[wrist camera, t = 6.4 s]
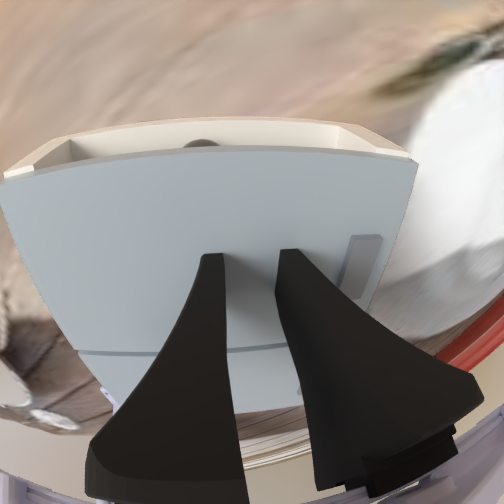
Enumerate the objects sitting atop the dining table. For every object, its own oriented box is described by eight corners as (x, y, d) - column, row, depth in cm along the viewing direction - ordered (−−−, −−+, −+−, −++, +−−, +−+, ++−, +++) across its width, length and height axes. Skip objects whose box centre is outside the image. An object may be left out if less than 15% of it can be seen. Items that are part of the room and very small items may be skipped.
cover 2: (315, 394, 19) (318, 404, 18) (129, 408, 17) (128, 418, 16) (350, 327, 14) (356, 340, 13) (80, 344, 12) (76, 359, 11)
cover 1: (352, 321, 13) (358, 335, 13) (77, 340, 11) (73, 354, 11) (408, 157, 8) (424, 167, 8) (4, 178, 6) (-11, 190, 6)
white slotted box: (302, 354, 22) (314, 395, 19) (134, 365, 20) (130, 408, 17) (358, 125, 11) (410, 152, 8) (52, 138, 9) (3, 172, 6)
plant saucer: (442, 374, 39) (448, 387, 37) (421, 358, 30) (431, 377, 28) (511, 313, 33) (519, 326, 30) (515, 272, 24) (529, 288, 21)
